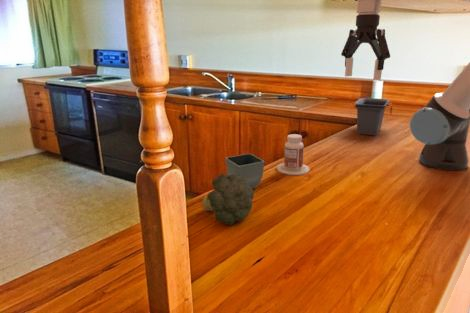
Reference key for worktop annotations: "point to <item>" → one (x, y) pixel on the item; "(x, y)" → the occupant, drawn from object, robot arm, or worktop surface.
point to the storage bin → (370, 115)
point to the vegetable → (229, 198)
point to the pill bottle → (293, 152)
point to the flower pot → (246, 168)
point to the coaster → (284, 170)
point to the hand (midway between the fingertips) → (362, 78)
